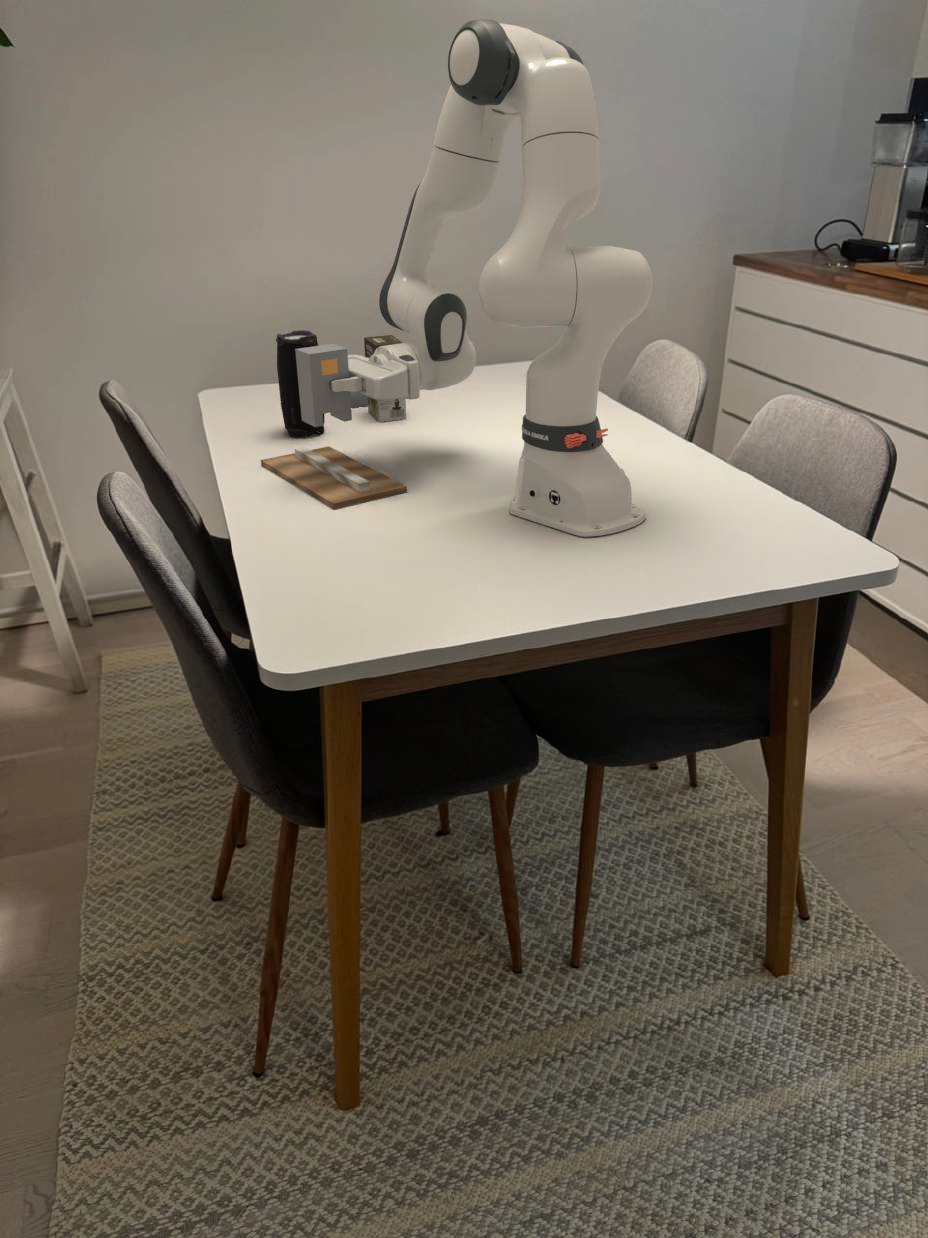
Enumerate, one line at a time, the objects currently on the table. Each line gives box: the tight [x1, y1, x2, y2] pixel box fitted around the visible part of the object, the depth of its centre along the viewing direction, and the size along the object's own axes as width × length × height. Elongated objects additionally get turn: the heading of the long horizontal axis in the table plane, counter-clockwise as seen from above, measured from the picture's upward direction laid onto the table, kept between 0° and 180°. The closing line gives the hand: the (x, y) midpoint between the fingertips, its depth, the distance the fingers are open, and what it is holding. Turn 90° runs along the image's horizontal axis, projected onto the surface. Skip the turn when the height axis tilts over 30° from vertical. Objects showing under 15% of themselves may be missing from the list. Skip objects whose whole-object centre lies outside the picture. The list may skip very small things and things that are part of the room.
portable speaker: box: [275, 329, 326, 439], centre depth 182 cm, size 9×9×20 cm
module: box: [295, 343, 353, 427], centre depth 155 cm, size 5×7×12 cm
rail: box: [260, 446, 408, 510], centre depth 162 cm, size 28×14×2 cm, turn 35°
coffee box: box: [363, 334, 407, 423], centre depth 194 cm, size 9×6×16 cm
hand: (321, 382), depth 154 cm, fingers closed on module, 5 cm apart
